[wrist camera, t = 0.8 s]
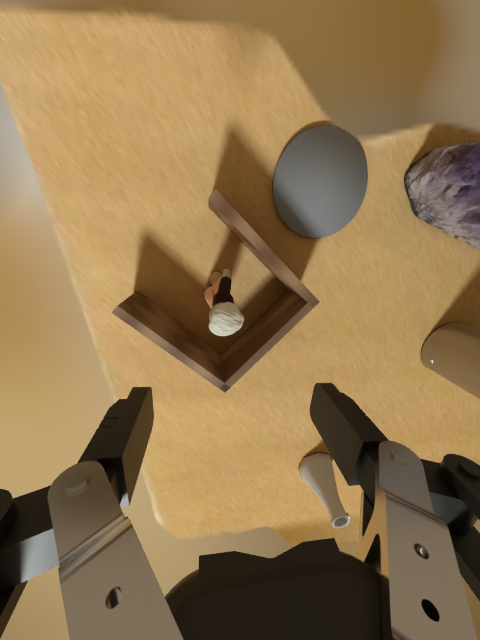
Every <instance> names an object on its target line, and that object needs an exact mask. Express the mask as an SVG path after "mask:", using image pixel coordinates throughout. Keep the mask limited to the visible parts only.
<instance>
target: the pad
mask: <svg viewBox="0 0 480 640" xmlns="http://www.w3.org/2000/svg"><path fill="white" fill-rule="evenodd" d="M367 179H368V173H367V164H366V160H365V156H364V153H363V151H362V149H361V147H360V145H359V144H358V142H357V141H356V140H355V138H354V137H353V136H351V135H350V134H349V133H348V132H346V131H345V130H343V129H341V128H339V127H335V126H329V125H322V126H316V127H312V128H310V129H308V130H305V131H304V132H302V133H301V134H299V135H298V136H297V137H296V138H294V139H293V141H292V142H291V143H290V144H289V145H288V146H287V147H286V149H285V150H284V152H283V153H282V155H281V157H280V159H279V161H278V163H277V166H276V169H275V172H274V178H273V199H274V204H275V207H276V210H277V212H278V214H279V216H280V218H281V220H282V221H283V222H284V224H285V225H286V226H287V227H288V228H289V229H290V230H292V231H293V232H295V233H297V234H299V235H301V236H304V237H310V238H320V237H326V236H329V235H332V234H334V233H336V232H338V231H339V230H341V229H342V228H343V227H345V226H346V225H347V224H348V223H349V222H350V221H351V220H352V219H353V217H354V216H355V215H356V213H357V212H358V210H359V208H360V206H361V204H362V201H363V199H364V196H365V192H366V187H367Z"/></svg>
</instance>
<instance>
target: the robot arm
mask: <svg viewBox="0 0 480 640" xmlns="http://www.w3.org/2000/svg"><path fill="white" fill-rule="evenodd" d="M421 358H422V362H423V364H424V365H425V366H426V367H427V368H429V369H431V370H432V371H434V372H436V373H437V374H439V375H441V376H442V377H444V378H446V379H447V380H449V381H451V382H452V383H454V384H456V385H457V386H459V387H461V388H462V389H464V390H466V391H467V392H469V393H471V394H472V395H474V396H476V397H477V398H479V399H480V330H479V329H476V328H473V327H470V326H467V325H464V324H461V323H448V324H446V325H443V326H441V327H440V328H438V329H437V330H435V331H434V332H433V333H432V334H431V335H430V336H429V337H428V339H427V340H426V341H425V343H424V345H423V348H422V352H421ZM310 416H311V419H312V421H313V423H314V425H315V427H316V428H317V430H318V432H319V434H320V436H321V437H322V439H323V441H324V443H325V444H326V446H327V448H328V450H329V452H330V453H331V455H332V457H333V459H334V460H335V462H336V464H337V466H338V468H339V469H340V471H341V473H342V475H343V476H344V478H345V480H346V482H347V483H348V485H349V486H352V485H360V486H361V488H362V489H363V491H362V494H361V506H360V523H359V541H358V549H357V553H356V557H354V556H352V555H349V554H346V553H344V552H341V551H339V549H338V546H337V544H336V541H335V539H334V538H330V539H322V540H315V541H307V542H302V543H300V544H299V545H297V546H295V547H293V548H291V549H290V550H288V551H286V552H284V553H283V554H281V555H279V556H277V557H275V558H265V557H260V556H255V555H250V554H246V553H241V552H236V551H232V552H224V553H217V554H209V555H202V556H199V569H198V570H196V571H194V572H192V573H190V574H189V575H188V576H186V577H185V578H183V579H182V580H181V581H180V582H179V583H178V584H177V585H175V586H174V587H173V588H172V589H171V590H170V592H169V593H168V594H167V595H166V596H165V597H164V595H163V593H162V590H161V588H160V586H159V584H158V581H157V579H156V577H155V575H154V573H153V570H152V568H151V566H150V564H149V561H148V559H147V557H146V555H145V552H144V550H143V548H142V546H141V543H140V541H139V539H138V537H137V535H136V532H135V530H134V528H133V526H132V523H131V522H130V520H129V518H128V517H126V518H125V516H124V514H123V512H122V510H121V508H120V507H124V506H129V505H130V502H131V498H132V495H133V492H134V488H135V484H136V481H137V478H138V475H139V471H140V468H141V464H142V461H143V458H144V454H145V451H146V447H147V444H148V440H149V437H150V434H151V430H152V426H153V419H154V411H153V399H152V389H151V387H133V388H132V390H131V392H130V394H129V396H128V398H127V399H119V400H118V401H117V402H116V403H115V404H113V405H112V406H111V407H110V408H109V410H108V411H107V413H106V415H105V416H104V419H103V420H102V422H101V424H100V425H99V428H98V429H97V430H96V432H95V434H94V436H93V437H92V439H91V441H90V443H89V444H88V446H87V448H86V449H85V451H84V453H83V454H82V456H81V458H80V460H79V461H78V463H77V464H75V465H73V466H71V467H69V468H68V469H66V470H65V471H64V472H62V473H61V474H60V475H59V476H58V477H57V478H56V479H55V480H54V482H53V483H52V485H50V486H48V487H45V488H43V489H40V490H37V491H34V492H31V493H28V494H25V495H22V496H19V497H17V498H14V499H13V498H12V495H11V493H10V492H9V491H7V490H4V489H0V638H1V636H2V634H3V632H4V630H5V627H6V625H7V623H8V621H9V619H10V617H11V615H12V613H13V610H14V609H15V607H16V604H17V602H18V600H19V598H20V596H21V594H22V592H23V590H24V588H25V586H26V583H27V582H28V580H29V579H31V578H33V577H35V576H37V575H40V574H42V573H44V572H46V571H48V570H50V569H52V568H54V567H56V566H58V565H60V567H59V569H58V571H59V579H60V585H61V591H62V597H63V602H64V608H65V614H66V620H67V625H68V631H69V637H70V640H477V636H476V632H475V628H474V624H473V621H472V617H471V613H470V609H469V606H468V602H467V598H466V594H465V590H464V586H463V582H462V579H461V575H462V577H463V578H464V580H465V581H466V582H467V584H468V585H469V587H470V588H471V590H472V591H473V592H474V594H475V595H476V597H477V598H478V600H479V601H480V533H479V532H478V531H477V530H476V528H475V527H474V526H473V525H474V524H475V522H476V521H477V519H479V520H480V465H478V464H476V463H475V462H473V461H471V460H469V459H467V458H465V457H463V456H460V455H456V454H447V455H445V456H444V458H443V460H442V462H441V463H437V462H432V461H428V460H423V459H419V457H418V456H417V455H416V454H415V453H414V452H413V451H411V450H410V449H409V448H407V447H406V446H404V445H402V444H400V443H397V442H394V441H389V440H388V439H387V438H386V437H385V436H384V434H383V433H382V432H381V431H380V430H379V429H378V428H377V427H376V425H375V424H374V423H373V422H372V421H371V420H370V419H369V417H368V416H366V415H365V413H364V412H363V411H362V410H361V409H360V407H359V406H358V405H357V404H356V403H355V402H354V401H353V399H351V398H350V397H348V396H347V395H345V394H344V393H340V392H339V390H338V389H337V388H336V387H335V386H334V385H333V384H332V383H316V384H315V386H314V390H313V395H312V400H311V405H310ZM460 574H461V575H460Z"/></svg>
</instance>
